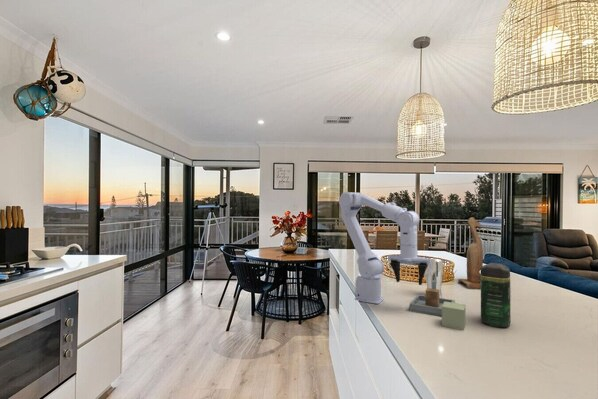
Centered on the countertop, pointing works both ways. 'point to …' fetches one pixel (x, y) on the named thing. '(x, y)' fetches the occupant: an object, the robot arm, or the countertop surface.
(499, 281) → the coffee jar
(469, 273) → the bird sculpture
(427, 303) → the walnut block
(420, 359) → the countertop surface
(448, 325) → the olive block
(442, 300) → the grey tray
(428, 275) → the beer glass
